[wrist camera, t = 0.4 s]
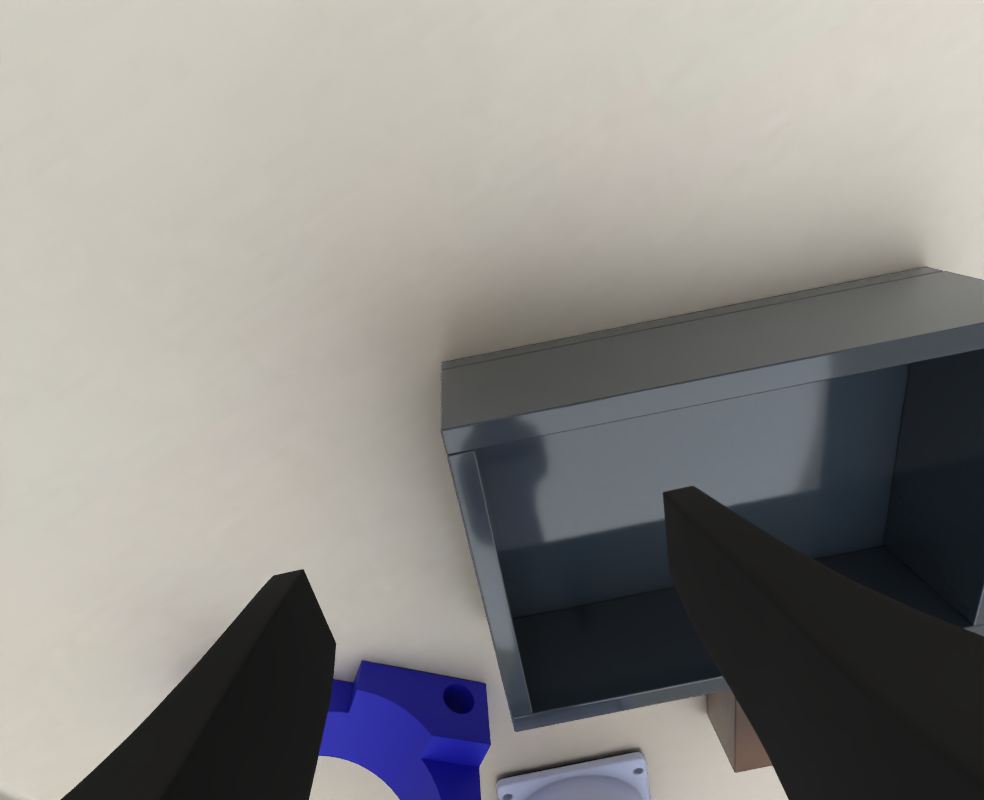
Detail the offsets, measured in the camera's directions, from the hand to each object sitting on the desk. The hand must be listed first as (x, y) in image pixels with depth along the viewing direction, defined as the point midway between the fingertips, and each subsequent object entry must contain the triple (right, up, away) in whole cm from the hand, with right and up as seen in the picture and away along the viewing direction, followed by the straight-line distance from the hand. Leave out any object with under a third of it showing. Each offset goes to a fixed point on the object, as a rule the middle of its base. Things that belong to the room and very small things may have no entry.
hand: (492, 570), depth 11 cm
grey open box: (+8, +1, +11) cm, 14 cm away
